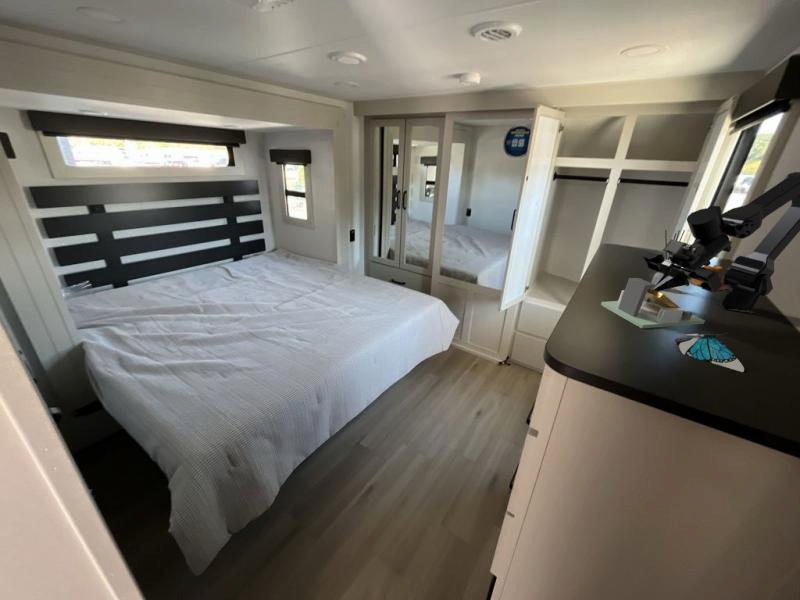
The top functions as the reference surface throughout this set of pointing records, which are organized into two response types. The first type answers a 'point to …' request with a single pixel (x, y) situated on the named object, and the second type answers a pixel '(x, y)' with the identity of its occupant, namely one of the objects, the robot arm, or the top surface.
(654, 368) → the top surface
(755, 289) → the robot arm
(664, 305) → the gold rectangular plate
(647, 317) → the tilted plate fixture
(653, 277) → the reed diffuser
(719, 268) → the brown piece
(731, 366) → the decorative butterfly
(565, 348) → the top surface
